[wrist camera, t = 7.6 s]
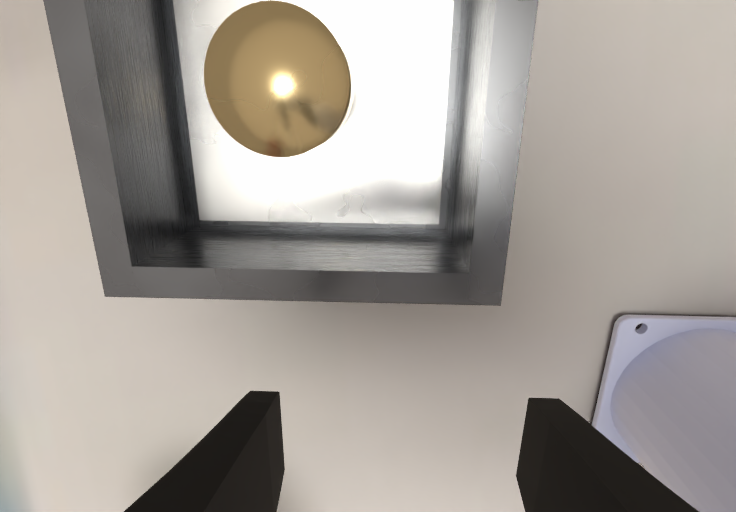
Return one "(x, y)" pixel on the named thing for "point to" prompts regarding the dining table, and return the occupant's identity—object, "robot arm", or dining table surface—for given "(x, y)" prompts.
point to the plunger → (316, 108)
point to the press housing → (283, 239)
